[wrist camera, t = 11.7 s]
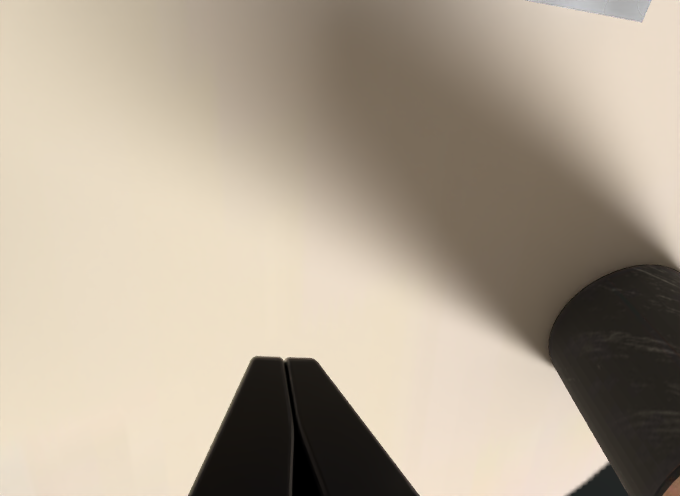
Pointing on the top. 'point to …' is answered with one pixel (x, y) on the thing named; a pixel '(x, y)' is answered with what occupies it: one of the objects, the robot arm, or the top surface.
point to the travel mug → (627, 372)
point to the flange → (605, 7)
